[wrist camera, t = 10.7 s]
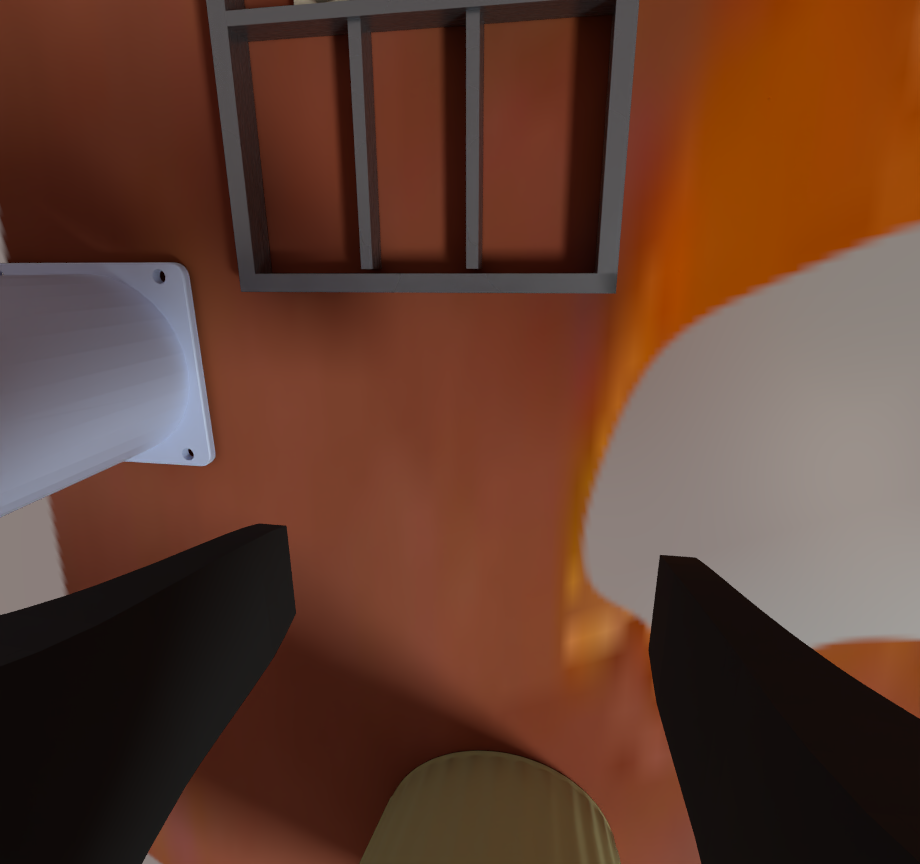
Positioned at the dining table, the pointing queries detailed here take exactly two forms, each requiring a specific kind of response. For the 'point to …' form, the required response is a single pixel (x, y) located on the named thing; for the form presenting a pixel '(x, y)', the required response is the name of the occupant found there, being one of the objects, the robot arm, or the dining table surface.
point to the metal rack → (375, 10)
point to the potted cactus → (490, 816)
